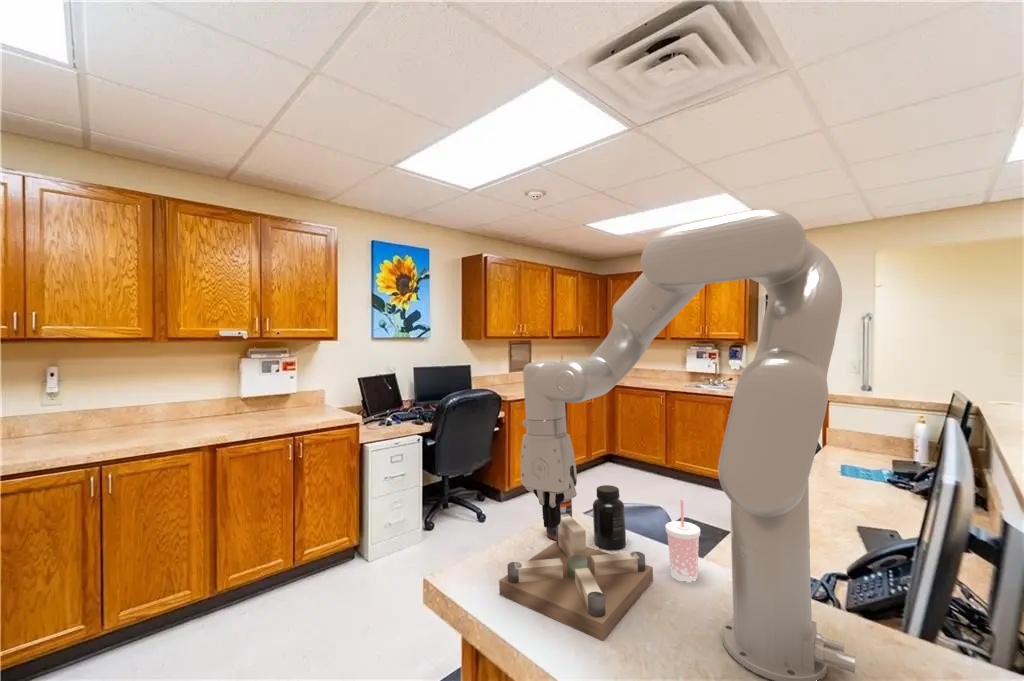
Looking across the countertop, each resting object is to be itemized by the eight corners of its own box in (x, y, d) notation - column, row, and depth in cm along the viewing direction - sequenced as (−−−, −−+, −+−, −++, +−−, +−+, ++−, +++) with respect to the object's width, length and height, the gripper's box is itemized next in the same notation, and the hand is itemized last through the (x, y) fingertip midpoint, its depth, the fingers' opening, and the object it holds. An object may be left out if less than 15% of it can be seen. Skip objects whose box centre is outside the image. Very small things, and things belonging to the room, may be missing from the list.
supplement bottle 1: (571, 542, 96) (569, 491, 96) (544, 540, 97) (543, 489, 97) (573, 530, 102) (572, 482, 102) (548, 529, 103) (547, 481, 103)
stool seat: (653, 580, 80) (652, 553, 80) (603, 640, 64) (602, 607, 64) (560, 550, 92) (559, 527, 92) (499, 594, 77) (498, 566, 77)
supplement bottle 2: (623, 536, 98) (621, 483, 98) (628, 551, 91) (626, 493, 91) (592, 536, 99) (591, 483, 99) (595, 550, 92) (593, 493, 92)
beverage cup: (692, 588, 77) (689, 509, 77) (660, 575, 81) (658, 500, 81) (707, 575, 81) (705, 500, 81) (676, 563, 85) (674, 492, 86)
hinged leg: (554, 542, 90) (554, 513, 90) (566, 540, 91) (565, 511, 91) (574, 564, 81) (573, 532, 81) (586, 562, 82) (585, 530, 82)
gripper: (503, 428, 83) (508, 524, 83) (570, 433, 74) (577, 542, 74) (526, 422, 89) (531, 512, 89) (591, 426, 80) (597, 526, 80)
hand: (552, 525), depth 81 cm, fingers closed
